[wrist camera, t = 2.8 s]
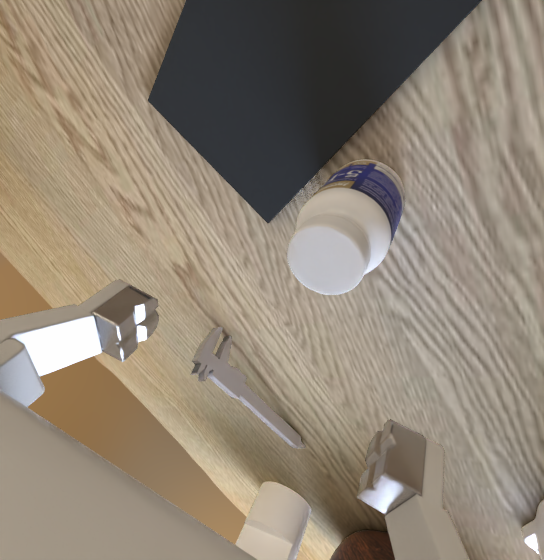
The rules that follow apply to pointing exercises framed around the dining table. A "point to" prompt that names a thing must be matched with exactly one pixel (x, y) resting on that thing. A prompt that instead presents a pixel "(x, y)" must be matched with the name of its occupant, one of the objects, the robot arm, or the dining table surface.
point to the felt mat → (289, 81)
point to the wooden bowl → (365, 547)
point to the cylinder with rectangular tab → (275, 523)
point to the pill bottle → (346, 227)
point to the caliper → (237, 384)
